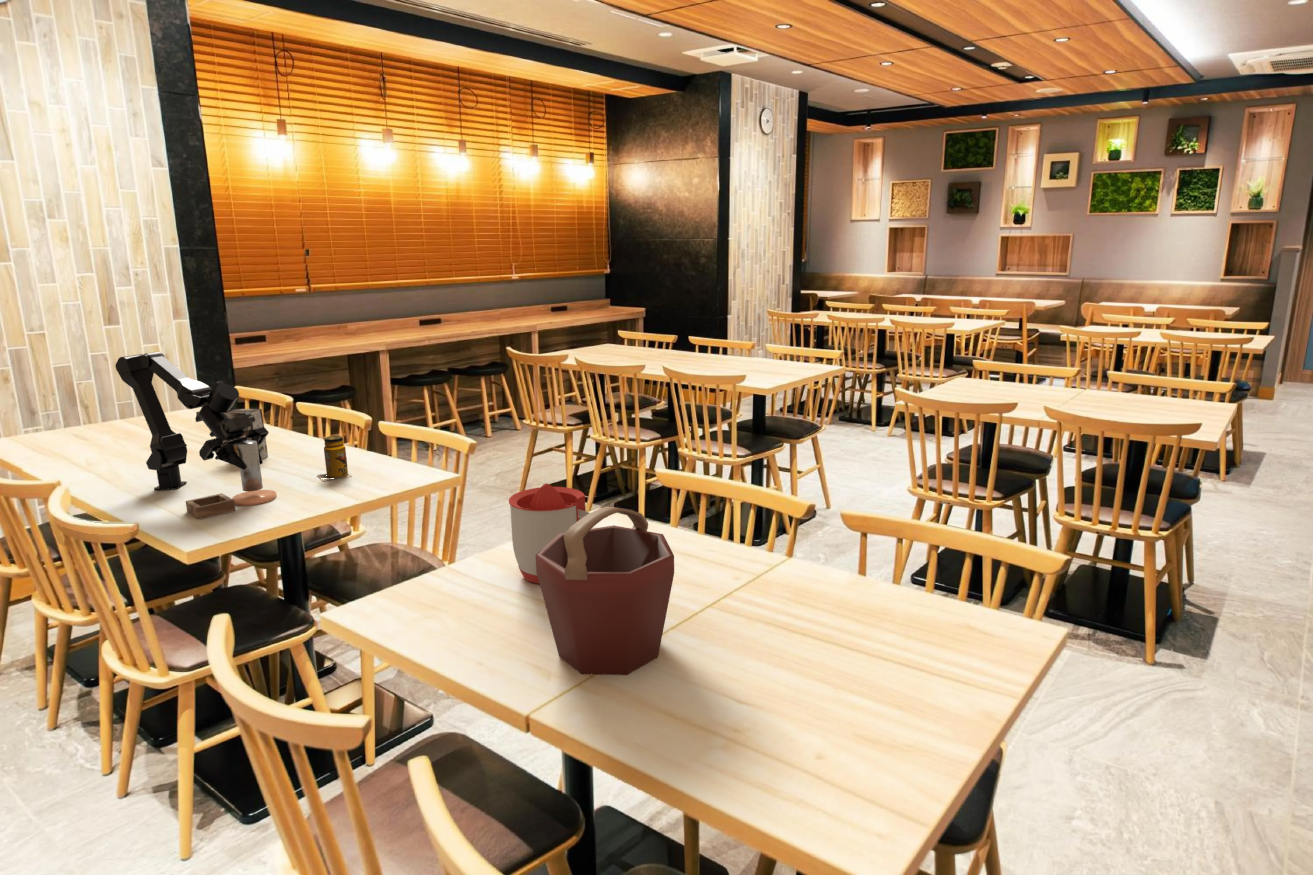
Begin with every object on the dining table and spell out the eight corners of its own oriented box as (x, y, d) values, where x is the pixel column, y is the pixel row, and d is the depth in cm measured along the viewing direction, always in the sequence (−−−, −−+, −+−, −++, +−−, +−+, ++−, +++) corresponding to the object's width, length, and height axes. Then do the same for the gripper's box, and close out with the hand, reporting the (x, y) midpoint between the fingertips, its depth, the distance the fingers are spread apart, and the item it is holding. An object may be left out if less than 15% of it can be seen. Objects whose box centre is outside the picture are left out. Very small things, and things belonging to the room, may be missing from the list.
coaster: (242, 493, 233) (241, 490, 233) (282, 492, 234) (282, 489, 233) (225, 506, 222) (225, 502, 222) (267, 504, 223) (267, 501, 223)
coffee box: (269, 456, 273) (262, 408, 269) (258, 461, 267) (251, 412, 263) (243, 456, 274) (236, 408, 270) (231, 461, 268) (224, 412, 264)
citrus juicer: (585, 592, 165) (581, 496, 160) (502, 587, 168) (496, 493, 163) (603, 562, 180) (600, 474, 175) (527, 558, 183) (522, 471, 178)
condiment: (352, 476, 248) (347, 438, 245) (322, 481, 244) (317, 442, 241) (346, 471, 254) (342, 433, 251) (317, 476, 250) (312, 437, 247)
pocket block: (187, 511, 218) (185, 501, 217) (223, 503, 224) (221, 493, 224) (198, 519, 212) (197, 508, 211) (235, 510, 218) (234, 500, 217)
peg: (242, 487, 228) (236, 441, 225) (262, 485, 231) (256, 439, 227) (242, 492, 224) (236, 445, 221) (263, 489, 226) (257, 443, 223)
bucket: (600, 703, 126) (594, 548, 120) (508, 657, 140) (499, 517, 134) (701, 644, 143) (700, 506, 137) (610, 608, 158) (606, 482, 152)
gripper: (200, 411, 215) (236, 456, 213) (259, 398, 231) (293, 439, 230) (183, 437, 220) (219, 482, 218) (242, 423, 236) (276, 464, 235)
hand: (253, 466), depth 225 cm, fingers closed on peg, 5 cm apart
